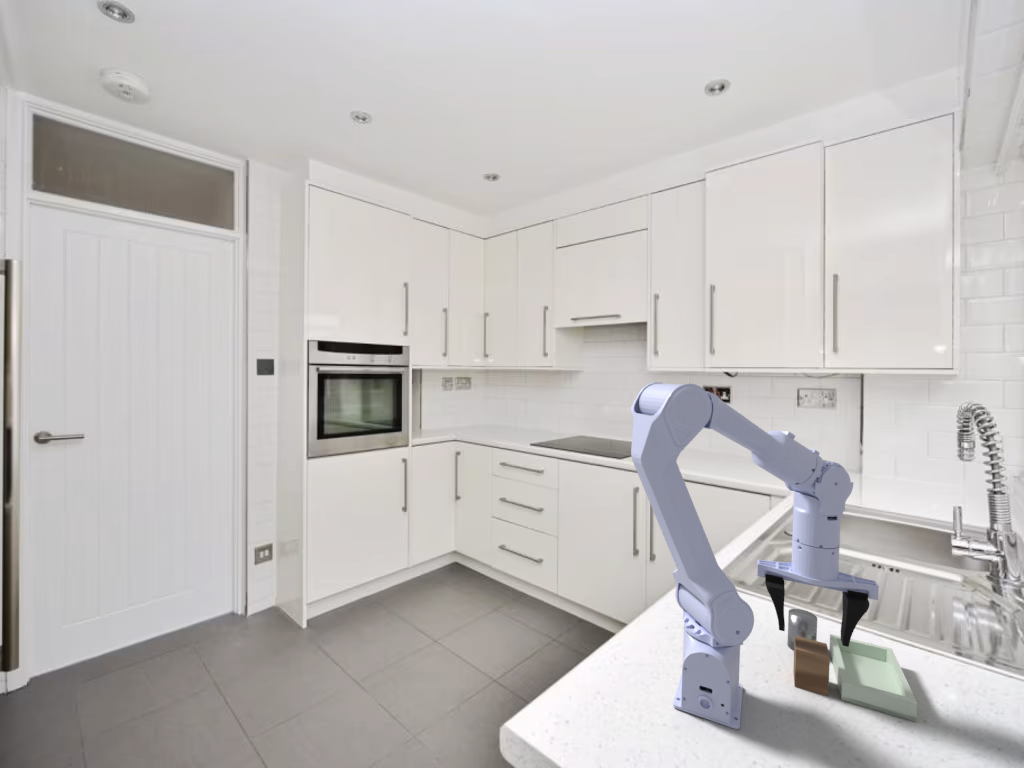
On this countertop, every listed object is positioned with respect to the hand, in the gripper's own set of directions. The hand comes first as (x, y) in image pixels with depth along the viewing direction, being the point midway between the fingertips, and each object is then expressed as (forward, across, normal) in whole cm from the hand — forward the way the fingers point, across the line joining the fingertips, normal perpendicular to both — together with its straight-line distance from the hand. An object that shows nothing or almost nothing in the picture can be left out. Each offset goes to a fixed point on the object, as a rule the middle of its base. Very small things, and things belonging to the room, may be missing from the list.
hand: (812, 635), depth 67 cm
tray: (+7, -7, -5) cm, 11 cm away
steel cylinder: (+7, +1, -10) cm, 12 cm away
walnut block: (+7, 0, 0) cm, 7 cm away
